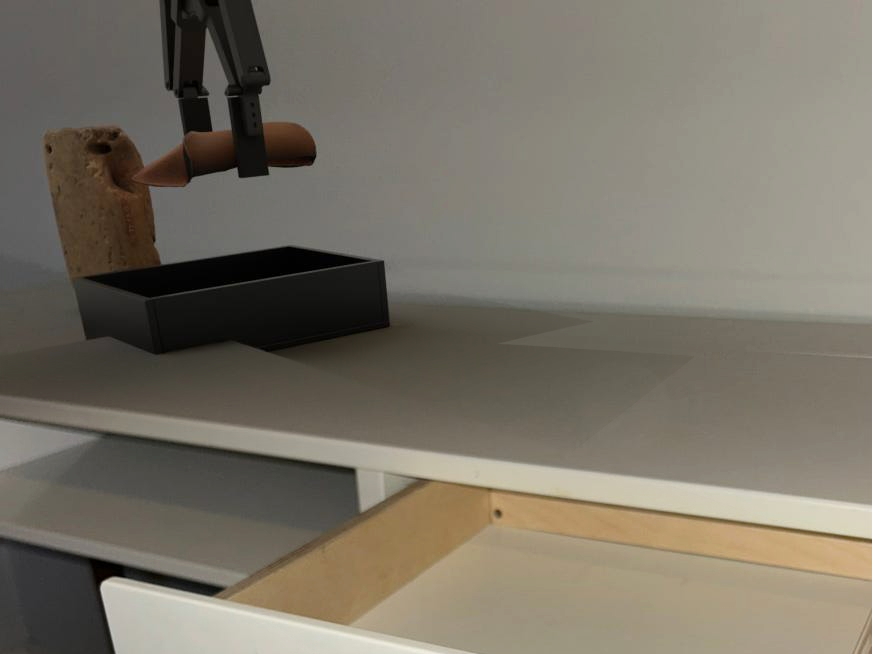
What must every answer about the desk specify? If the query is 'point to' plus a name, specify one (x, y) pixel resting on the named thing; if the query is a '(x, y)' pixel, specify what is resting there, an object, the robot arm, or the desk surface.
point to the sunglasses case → (227, 154)
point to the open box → (236, 300)
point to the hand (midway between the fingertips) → (228, 174)
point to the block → (99, 200)
